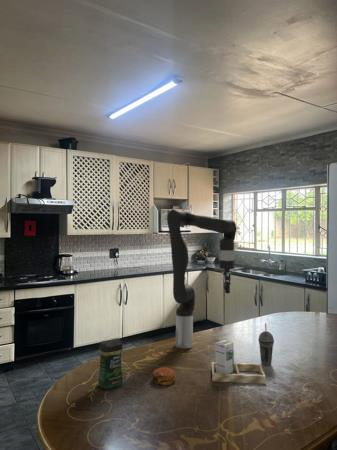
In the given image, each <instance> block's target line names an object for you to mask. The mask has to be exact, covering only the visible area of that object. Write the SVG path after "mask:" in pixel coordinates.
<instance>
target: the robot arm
mask: <svg viewBox="0 0 337 450" xmlns="http://www.w3.org/2000/svg"><path fill="white" fill-rule="evenodd" d="M166 216H167V217H166V219H167V226H168V232H169V237H170V238H169V239H170V247H171V248H170V249H171V251H170V252H171V262H172V279H173V280H172V293H173V299H174V301H175V302H176V303H177V304H179V306H178V307H177V308H176V310H175V315H176V316H175V348H178V349H184V350H186V349H191V348H193V346H194V319H193V317H194V310H195V300H196V296H195V295H196V294H195V293H196V292H195V290H194V289H195V288H194V287H193V286H192V285H190V284H186V283H185V282H186V281H185V277H186V273H187V269H188V266H189V260H190V259H189V249H188V246H187V244H186V242H185V241H184V239H183V236H182V234H181V227H182V226H193V227H196V228H198V229H202V230H205V231H206V230H207V231H211V232H212V231H213V232H215V233H216V232H217V233H219V234H223V237H222V238H220V240H219V254H218V255H219V256H218V261H219V262H218V264H219V265H218V269H221V270H223V271H222V280H223V281H222V282H223V289H224V293H225V294H230V292H231V287H230V286H231V281H232V278H231V277H232V272H230V270H234V269H235V239H236V234H237V225H236V222H235V221H234V220H232V219H223V218H216V217H213V216H207V215H199V214H194V213H190V212H187V211H186V210H183V209H170V210H169V211H168V212H167V215H166Z"/></svg>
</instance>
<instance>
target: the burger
mask: <svg viewBox="0 0 337 450" xmlns="http://www.w3.org/2000/svg"><path fill="white" fill-rule="evenodd" d="M152 377H153V378H152V379H153V380H154V383H156V384H160V385H161V386H168V385H169V386H170V385H171V384H173V383H174V382H175V380H176V378H177V375H176V372H175V370H173V369H172V368H170V367H167V366H165V367H164V366H163V367H158V368H156V369H155V370H154V371H153V372H152Z"/></svg>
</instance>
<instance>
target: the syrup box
mask: <svg viewBox="0 0 337 450" xmlns="http://www.w3.org/2000/svg"><path fill="white" fill-rule="evenodd" d="M234 350H235V349H234V342H232V341H231V340H227V339H226V340H225V339H223V340H220V341H218V342H215V362H216V370H215V374H235V370H234V363H235V361H234V360H235V359H234V358H235V357H234V354H235V353H234Z"/></svg>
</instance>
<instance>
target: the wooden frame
mask: <svg viewBox="0 0 337 450" xmlns="http://www.w3.org/2000/svg"><path fill="white" fill-rule="evenodd" d="M215 371H216V361H215V362H214V361H213V362H211V379H212V382H220V383H221V382H223V383H240V384H241V383H245V384H246V383H247V384H266V380H267V379H266V374H265V372H264V369H263V366H262V364H261V363H241V362H234V374H216V372H215ZM241 371H243V372H258V374H240V372H241Z"/></svg>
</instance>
